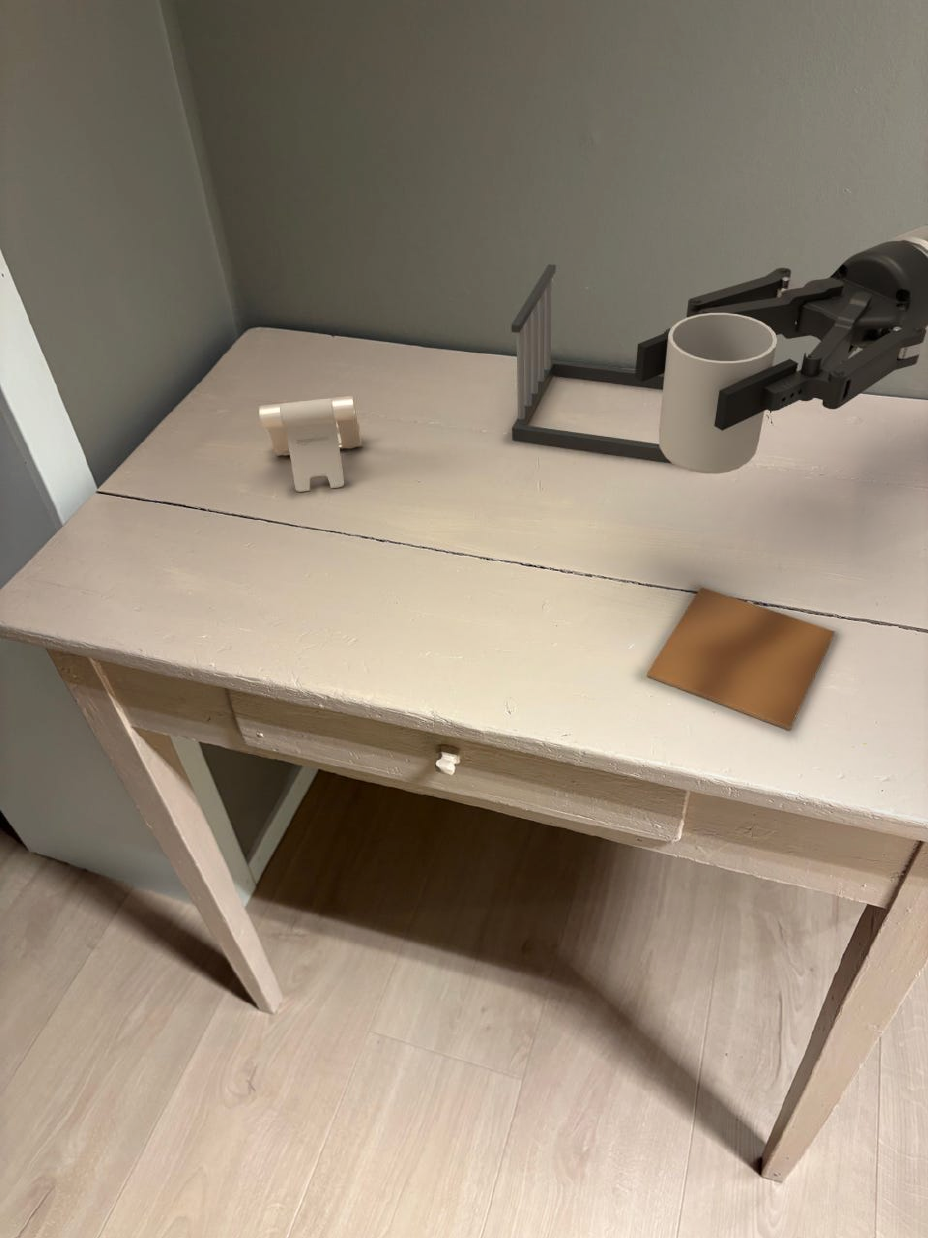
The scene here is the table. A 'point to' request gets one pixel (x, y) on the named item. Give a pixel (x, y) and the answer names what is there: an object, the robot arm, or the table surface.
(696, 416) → the cup
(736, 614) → the cork pad
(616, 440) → the dish rack
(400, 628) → the table surface
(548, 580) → the table surface
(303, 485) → the tablet stand
